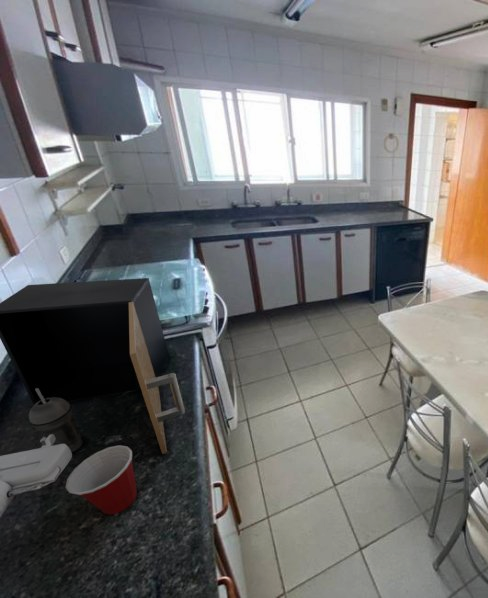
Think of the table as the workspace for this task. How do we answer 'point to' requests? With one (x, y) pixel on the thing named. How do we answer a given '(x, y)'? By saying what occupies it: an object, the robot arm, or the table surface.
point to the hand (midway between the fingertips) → (20, 442)
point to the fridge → (80, 337)
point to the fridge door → (151, 380)
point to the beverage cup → (56, 421)
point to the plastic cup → (106, 479)
